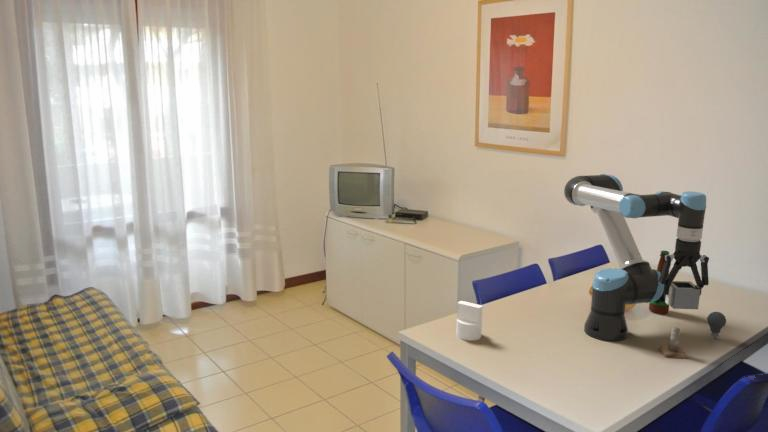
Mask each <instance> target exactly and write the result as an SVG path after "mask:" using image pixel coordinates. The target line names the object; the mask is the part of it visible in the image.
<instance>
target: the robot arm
mask: <svg viewBox="0 0 768 432" xmlns="http://www.w3.org/2000/svg"><path fill="white" fill-rule="evenodd" d="M563 193H564V197H565V199H566V200H567V201H568V203H570V204H572V205H574V206H579V207H585V206H589V207H590V209H591V212H592V213H594V214H596V215H597V216H598V219H599V220H600V222H601V225H602V227H603V230H604V232H605V235H606V237H607V239H608V241H609V242H608V243H609V245H610V248H611V249H612V251H613V254H614V257H615V259H616V262H617V263H618V266H619V268H615V267H614V268H611V267H610V268H609V267H608V268H603V269H600V270H598V271H596V272H595V273H594V276H593V281H592V289H591V290H592V292H591V301H590V302H591V303H590V312H589V313H588V315H587V318H586V320H585V322H584V327H583V331H584V332H585V334H586V335H587V336H589V337H592V338H595V339H598V340H602V341H611V342H612V341H613V342H615V341H616V342H617V341H623V340H624V339H626V338H628V335H629V329H628V325H627V321H626V316H625V310H626V306H627V305H635V304H647V303H648V304H649V302H652V301H656V300H658V299H659V298H660V297H661V296H662V294H663V290H664V294H665V295H666V299H665V303H667V304H668V305H669V306H670V304H671V295H672V286H671V283H672V281H675V278H676V277H677V275H678V273H679V272H680V270H681V269H682V268H685V267H688V268H690V269H691V273H692V275H693V278H694V280H695V285H696V286H697V287H698V288H700V289H701V290H700V296H701V295H702V291H703V289H702V288H704V287H705V286H708V285H710V284H709V269H708V266H709V265H708V264H709V260H710V257H709V256H707V255H706V254H704V255H702V254H701V253H700V252H701V248H702V241H701V240H702V238H703V230H704V223H705V214H706V209H707V196H706V194H705V193H703V192H698V191H684V192H682V193H681V195H680V194H677V193H673V192H670V191H664V190H659V191H657V192H656V193H652V194H651V193H650V194H638V193H631V192H627V191H624V188H623V185H622V182H621V180H620V179H619V178H618V177H616V176H615V175H613V174H612V175H611V174H604V173H603V174H594V175H593V174H590V175H577V176H574V177H572V178H570V179H569V180H568V181H567V182H566V184H565V185H564V190H563ZM662 216H669V217H672V218H673V217H674V218H677V219H678V222H677V228H676V237H677V238H676V239H675V244H674V245H675V246H674V252H673V254H669V255H667V254H665V255H664V258H665V262H664V265H663V268H662V272H661V273H660V272H659V271H657V269H653V268H652V267H651V265H650V262H649V261H647V260H644V259H643V257H642V255H641V252H640V250H639V248H638V245H637V243H636V241H635V239H634V235H633V234H632V232H631V230H630V227H629V225H628V223H627V220H626V218H627V219H638V218H649V217H650V218H652V217H662ZM673 259H674V260H675V261H674V263H673V266H672V268H671V265H672V262H673ZM698 261H700V270H701V273H700V272H699V270H698V265H697V262H698ZM668 272H669V274H668ZM700 274H701V275H700ZM667 275H668V276H667Z"/></svg>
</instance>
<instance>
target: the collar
mask: <svg viewBox="0 0 768 432" xmlns="http://www.w3.org/2000/svg"><path fill="white" fill-rule="evenodd" d="M696 285H697V284H695V283H693V282H692V281H691V280H690V281H686V280H685V281H684V280H683V281H682V280H679V281H678V280H673V281H672V283H671V286H672V295H671V304H670V305H669V307H671V308H672V309H674V310H699V305H700V298H701V297H700V296H701V295H700V290H701V289H700V288H698V287H697V286H696ZM665 299H666V295H665Z"/></svg>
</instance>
